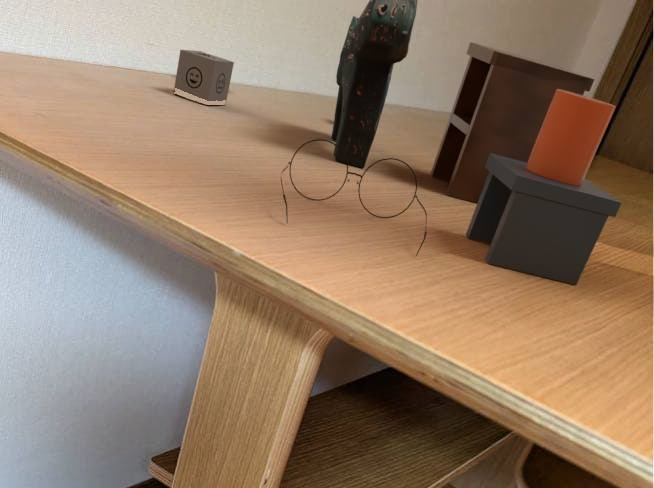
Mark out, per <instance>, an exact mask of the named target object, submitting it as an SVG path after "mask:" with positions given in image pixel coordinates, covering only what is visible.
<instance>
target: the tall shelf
mask: <svg viewBox="0 0 654 488" xmlns="http://www.w3.org/2000/svg"><path fill="white" fill-rule="evenodd" d="M466 55H467V56H469V59H468V60H467V61H468V62H467V64H466V67H465V70H464V73H463V76H462V78H461V82H460V85H459V88H458V91H457V94H456V96H455V99H454V103H453V106H452V108H451V112H450V114H449V118H448V121H447V123H446V126H445V130H444V132H443V136H442V138H441V141H440V144H439V147H438V150H437V153H436V156H435V159H434V162H433V165H432V168H431V171H430V174H429V175H430V176H431V177H432V178H436V179H439V180H444V181H447V182H449V184H448V186H447V189H446V191H445V194H446V195H447V196H448V197H451V198H455V199H459V200H463V201H467V202H471V203H475V204H477V203H478V200H479V198H480V195H481V192H482V190H483V187H484V184H485V182H486V179H487V176H488V174H489V170H488V169H486V168H485V165H486V163H487V160H488V157H489V155H490V153H492V154H496V155H499V156H503V157H507V158H511V159H515V160H518V161H522V162H526V163H527V162H528V160H529V157H530V155H531V152H532V150H533V147H534V145H535V142H536V140H537V137H538V135H539V132H540V130H541V127H542V125H543V122H544V120H545V117H546V115H547V112H548V110H549V107H550V105H551V102H552V100H553V97H554V94H555V92H556V90H557V89H561V90H565V91H569V92H572V93H576V94H580V95H583V96H584V94H585V92H588V93H590V91H591V89H592V87H593V84H594V82H595V78H593V77H590V76H587V75H585V74H582V73H578V72H575V71H572V70H569V69H567V68H563V67H560V66H557V65H553V64H550V63H547V62H542V61H540V60H535V59H532V58H529V57H525V56H521V55H517V54H514V53H510V52H508V51H504V50H500V49H497V48H494V47H490V46H486V45H482V44H479V43H475V42H472V41H469V44H468V47H467V51H466Z"/></svg>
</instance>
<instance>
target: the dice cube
mask: <svg viewBox="0 0 654 488" xmlns="http://www.w3.org/2000/svg"><path fill="white" fill-rule="evenodd" d="M234 64H235V61H232V60H228V59H225V58H222V57H219V56H216V55H213V54H211V53H207V52H204V51H201V50H191V49H180V51H179V56H178V62H177V69H176V75H175V82H174V88H177V89H180V90H182V91H184V92H187V93H189V94H192V95H194V96H197V97H199V98H202V99H205V100H207V101H216V100H217V101H223V100H226V102H227V101H228V100H227V99H228V95H229V90H230V84H231V79H232V74H233V69H234ZM174 88H173V89H174Z"/></svg>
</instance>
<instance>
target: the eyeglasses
mask: <svg viewBox="0 0 654 488" xmlns="http://www.w3.org/2000/svg"><path fill="white" fill-rule="evenodd" d="M317 141H320V142H321V141H323V142H327V143H330V144H332V145H333V146H334V147H335V146H337V145H336V144H335V142H334V141H330V140H328V139H322V138H320V139H319V138H318V139H317V138H316V139H311V140H309V141H307V142H305V143H303V144H302V145H301V146H299V147H298V148H297V150H296V151H295V152H294V154H293V156H292V157H291V161H288V163H287V166H285V168H284V169H282V171H281V174H280V176H282V174H283V172H285V171H286V169H287V168H288V167H289V178H290V182H291V184H292V186H293V188H294V189H295V191H296V192H297V193H298V194H299V195H300V196H302V197H303V198H306V199H308V200H310V201H317V202H318V201H319V202H320V201H325V200H328V199H330V198H333V197H334V196H335V195H337V194H338V193H339V192H340V191H341V190H342V188H343V187H344V185H345V184H346V182H347V183H349V182H350V180H351V179H350V178H349V179H348V174H349V175H354V176H357V177H360V180H359V181H357V182H356V185H358V190H357V191H358V198H359V201H360V203H361V205H362V207H363V209H364V210H365V211H366V212H367V213H369V214H370V215H372V216H373V217H376V218H380V219H390V218H394V217H397V216H399V215H401V214H403V213H405V212H406V210H408V209H409V208H410V206H411V205H412V203H413V202H414V200H415V198H416V201H417V202H418V204H419V205H420V206H421V208H422V209H423V211H424V213H425V223H427V222H428V220H427V219H428V213H427V210H426V208H425V207H424V206H423V204H422V203H421V201H420V200H419V198H418V195H417V191H418V181H417V177H416V174H415V172H414V169H412V167H411V166H410V165H409V164H408V163H406V161H403V160H401V159H398V158H395V157H394V158H393V157H388V158H387V157H386V158H382V159H378V160H376V161H375V162H373V163H371V165H369V166H368V167H367V168H366V169H365V171H364V172H363V173H362V174H360V173H356V172H351V171H349V165H348V163H347V159H346V157H345V154H344V153H343V151H342V150H341V149H340V148H339V147H338V146H337V147H338V148H339V149H340V151H341V152H342V153H343V155H344V157H345V160H346V164H345V165H346V174H345V178H344V181H343V183H342V184H341V186H340V188H339V189H338V190H337V191H335V193H333V194H332V195H330V196H328V197H325V198H320V199H318V198H317V199H316V198H311V197H308V196H306V195H304V194H302V193H301V192H300V191H299V190H298V189H297V188H296V186H295V184H294V182H293V179H292V173H291V171H292V169H291V168H292V163H293V160H294V158H295V156H296V154H298V152H299V150H300V149H301V148H303V147H304V146H305V145H307V144H309V143H313V142H317ZM387 160H391V161H392V160H393V161H398V162H400V163H403V164H404V165H406V166H407V167H408V168H409V169H410V171H411V172H412V174H413V176H414V180H415V191H414V195H413V197H412V200H411V201H410V203H409V204H408V206H406V207H405V208H404V210H402V211H401V212H399V213H397V214H394V215H391V216H380V215H376V214H375V213H372V212H370V211H369V210H368V209H367V208H366V206H365V205H364V204H363V202H362V199H361V193H360V190H361V189H360V188H361V183H362V180H363V178H364V176H365V174H366V173H367V171H368V170H369V169H370V168H371V167H372V166H374V165H376V164H377V163H380V162H382V161H387ZM280 183H281V189H282V197H283V201H284V205H285V212H286V224H288V222H289V221H288V220H289V219H288V218H289V217H288V203H287V198H286V194H285V190H284V186H283V180H282V178H280ZM427 233H428V231H427V227H425V231H424V234H423V240H422V242H421V244H420V246H419V248H418V249H417V252H416V254H415V256H414V257H415V258H416V257H417V256H418V254H419V252H420V250H421V248H422V246H423V244H424V242H425V240H426V237H427Z"/></svg>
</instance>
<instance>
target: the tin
mask: <svg viewBox="0 0 654 488" xmlns="http://www.w3.org/2000/svg"><path fill="white" fill-rule="evenodd" d="M616 107H617V106H616V105H614V104H611V103H608V102H605V101H603V100H600V99H596V98H593V97H590V96H587V95H584V94H583V95H580V94H576V93H572V92H569V91H565V90H561V89H557V90H556V92H555V94H554V97H553V100H552V102H551V105H550V107H549V110H548V112H547V115H546V117H545V120H544V122H543V125H542V127H541V130H540V132H539V135H538V137H537V140H536V142H535V145H534V147H533V150H532V152H531V155H530V157H529V160H528V162H527V165H526V167H525V168H526V169H527V170H528V171H530V172H532V173H534V174H537V175H539V176H542V177H545V178H548V179H551V180H554V181H558V182H561V183H565V184H569V185H575V186H581V185H582V182H583V180H584V178H585V179H586V175H587V173H588V171H589V168H590V167H591V164H592V161H593V160H594V158H595V155H596V153H597V150H598V148H599V146H600V144H601V142H602V139H603V137H604V135H605V133H606V130H607V128H608V125H609V123H610V121H611V119H612V116H613V115H614V112H615V109H616Z"/></svg>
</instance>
